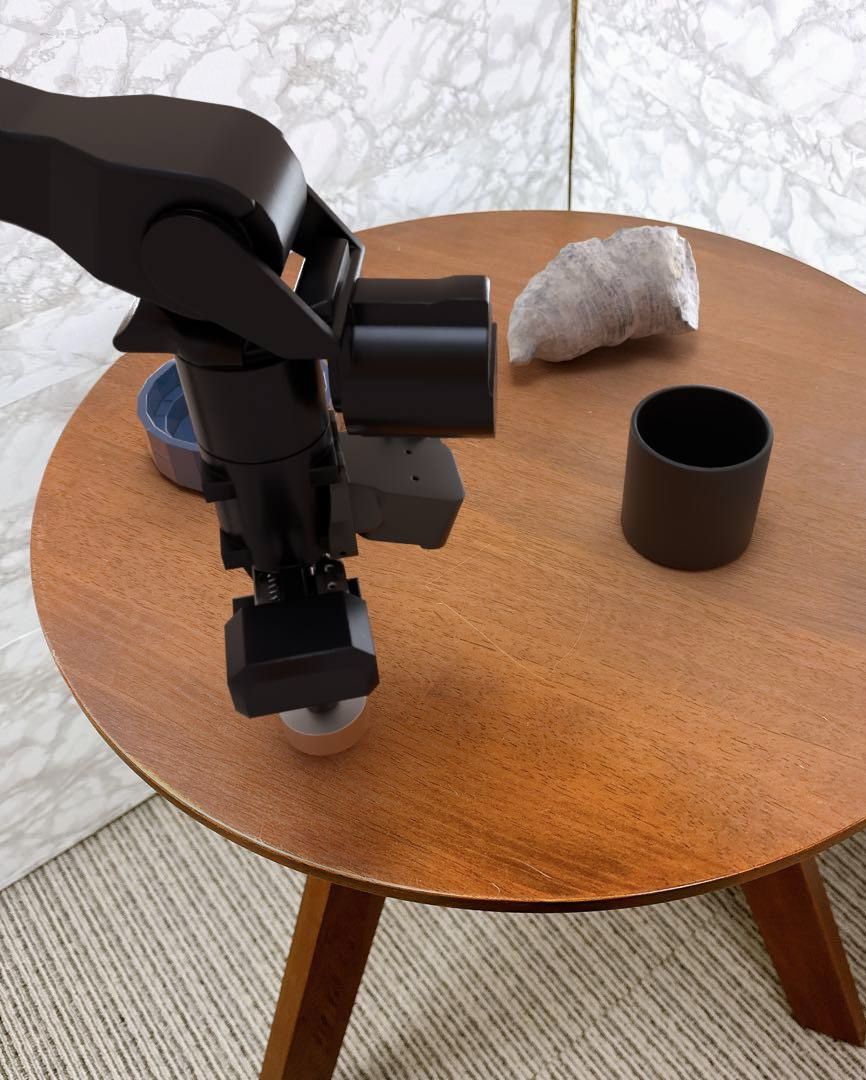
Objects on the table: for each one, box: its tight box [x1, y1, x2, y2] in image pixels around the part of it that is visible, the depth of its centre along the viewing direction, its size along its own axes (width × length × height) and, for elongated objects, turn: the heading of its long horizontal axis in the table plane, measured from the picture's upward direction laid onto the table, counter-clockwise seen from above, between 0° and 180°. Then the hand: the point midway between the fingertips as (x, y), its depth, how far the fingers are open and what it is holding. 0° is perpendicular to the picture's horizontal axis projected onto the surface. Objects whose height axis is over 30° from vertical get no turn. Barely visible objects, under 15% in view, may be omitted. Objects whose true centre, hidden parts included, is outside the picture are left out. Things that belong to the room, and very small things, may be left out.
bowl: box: [136, 358, 342, 493], centre depth 78 cm, size 14×14×4 cm
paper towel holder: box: [278, 696, 371, 757], centre depth 56 cm, size 5×5×11 cm
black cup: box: [620, 383, 775, 571], centre depth 71 cm, size 9×12×9 cm
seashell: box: [506, 224, 701, 367], centre depth 86 cm, size 16×15×10 cm
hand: (312, 653), depth 55 cm, fingers closed on paper towel holder
